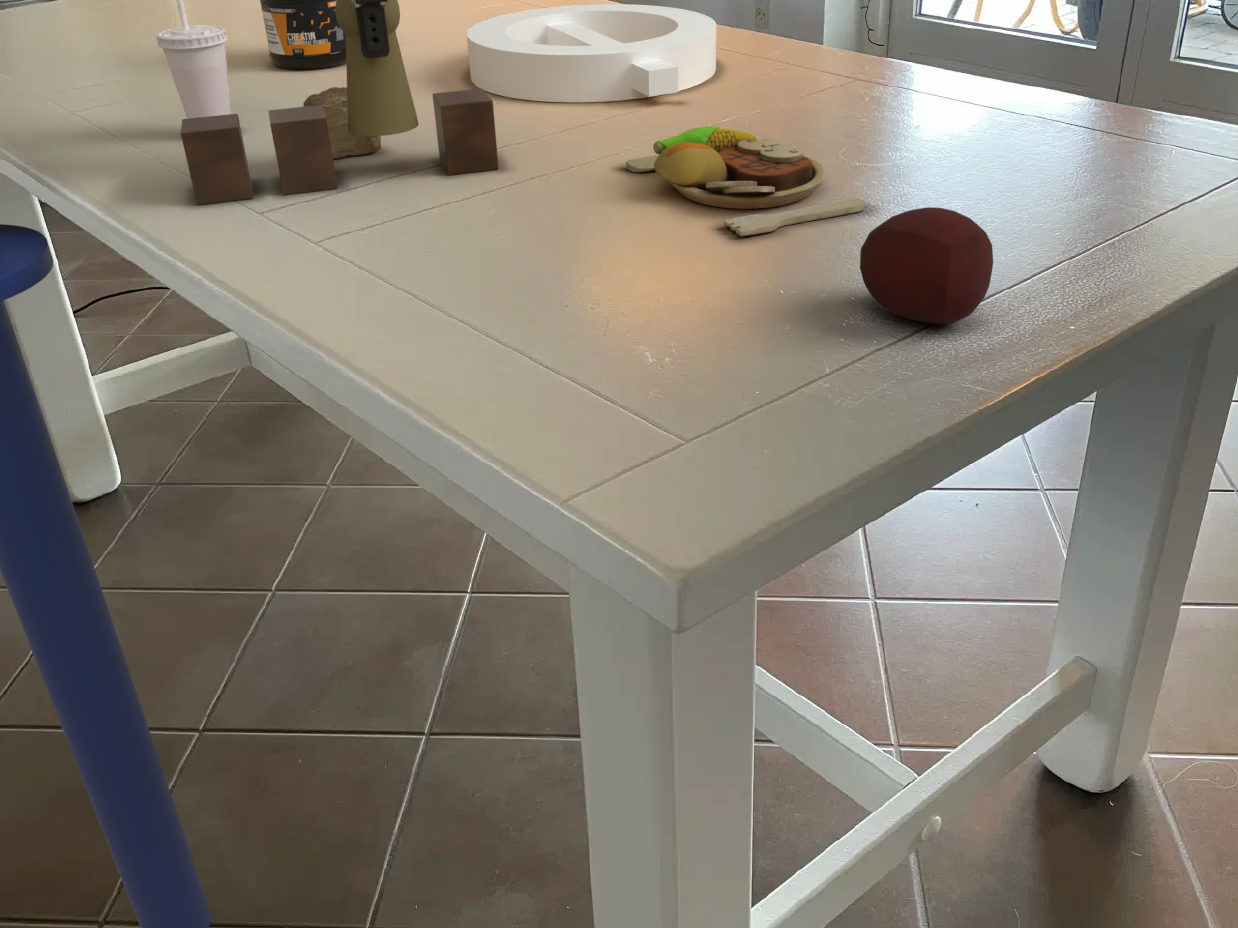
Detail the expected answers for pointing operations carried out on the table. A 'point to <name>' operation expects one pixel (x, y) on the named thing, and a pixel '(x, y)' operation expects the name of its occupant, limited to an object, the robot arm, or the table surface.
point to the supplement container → (303, 33)
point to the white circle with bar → (592, 52)
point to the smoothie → (198, 66)
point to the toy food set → (742, 176)
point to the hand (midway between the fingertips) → (372, 48)
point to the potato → (928, 265)
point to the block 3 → (465, 131)
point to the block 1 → (216, 159)
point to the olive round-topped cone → (376, 79)
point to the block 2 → (303, 149)
